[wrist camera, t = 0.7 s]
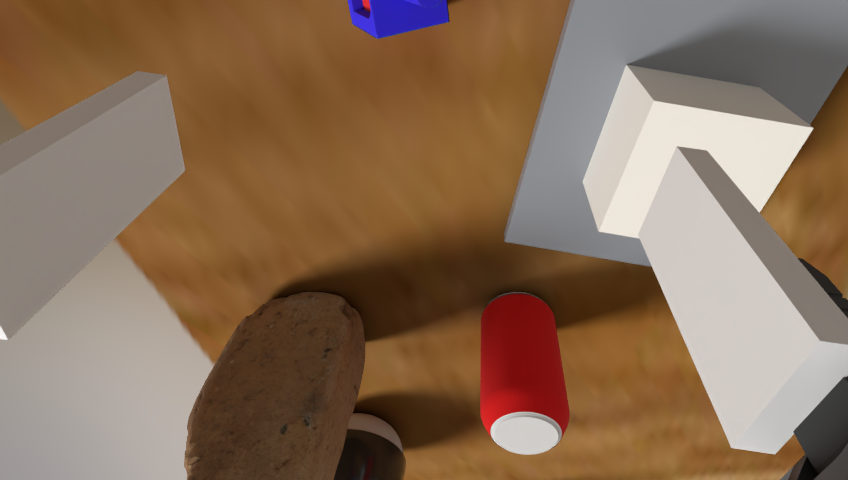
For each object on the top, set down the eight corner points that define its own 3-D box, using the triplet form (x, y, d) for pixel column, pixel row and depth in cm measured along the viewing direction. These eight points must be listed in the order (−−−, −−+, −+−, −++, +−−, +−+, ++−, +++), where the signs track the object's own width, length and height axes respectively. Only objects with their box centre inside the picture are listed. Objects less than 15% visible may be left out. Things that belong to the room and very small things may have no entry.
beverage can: (522, 273, 41) (534, 395, 31) (567, 316, 43) (591, 443, 33) (466, 308, 44) (461, 430, 34) (511, 347, 46) (518, 471, 36)
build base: (589, -67, 27) (618, -52, 21) (882, -17, 27) (991, 12, 21) (504, 232, 39) (507, 294, 33) (707, 267, 39) (747, 335, 33)
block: (364, 288, 44) (293, 529, 27) (374, 348, 48) (318, 586, 32) (246, 286, 45) (111, 514, 29) (266, 344, 49) (158, 571, 33)
